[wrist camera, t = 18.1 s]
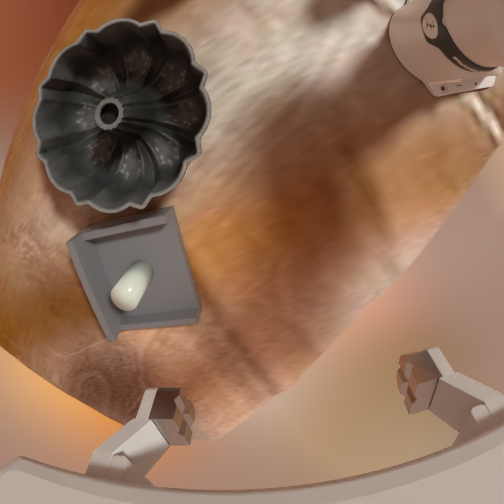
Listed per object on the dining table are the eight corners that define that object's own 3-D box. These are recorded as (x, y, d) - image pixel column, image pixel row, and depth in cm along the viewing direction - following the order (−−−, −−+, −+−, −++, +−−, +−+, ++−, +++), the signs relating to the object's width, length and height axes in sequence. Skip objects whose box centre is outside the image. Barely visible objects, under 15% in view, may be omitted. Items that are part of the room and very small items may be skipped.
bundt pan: (73, 43, 37) (39, 34, 28) (229, 32, 37) (222, 11, 28) (67, 192, 47) (34, 208, 38) (213, 200, 48) (202, 221, 39)
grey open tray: (173, 205, 48) (158, 222, 41) (202, 307, 56) (194, 334, 49) (88, 225, 50) (65, 242, 42) (123, 315, 57) (108, 341, 50)
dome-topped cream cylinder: (149, 258, 50) (131, 283, 42) (157, 281, 52) (141, 309, 44) (126, 262, 50) (106, 287, 42) (134, 284, 52) (117, 312, 44)
